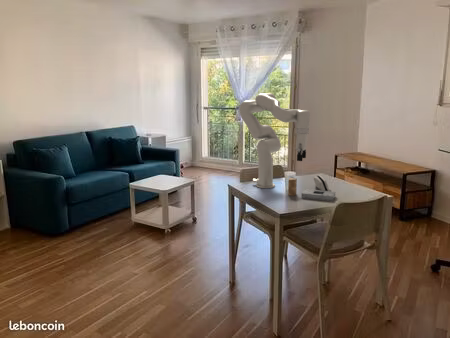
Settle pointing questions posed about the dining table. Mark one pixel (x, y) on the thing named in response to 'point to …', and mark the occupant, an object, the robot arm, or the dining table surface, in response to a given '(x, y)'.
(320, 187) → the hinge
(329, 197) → the flat grey box
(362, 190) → the dining table surface
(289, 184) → the peg
